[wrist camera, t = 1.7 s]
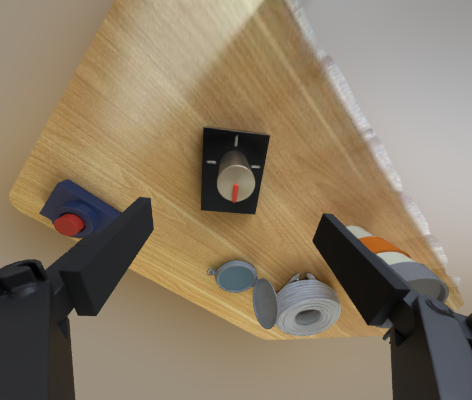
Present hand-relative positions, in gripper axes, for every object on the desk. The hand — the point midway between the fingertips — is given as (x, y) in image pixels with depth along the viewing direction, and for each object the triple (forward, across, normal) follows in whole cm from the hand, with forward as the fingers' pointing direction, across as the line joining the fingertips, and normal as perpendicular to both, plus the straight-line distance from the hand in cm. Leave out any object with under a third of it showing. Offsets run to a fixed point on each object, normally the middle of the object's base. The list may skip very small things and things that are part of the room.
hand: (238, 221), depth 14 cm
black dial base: (+19, 0, -2) cm, 19 cm away
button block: (+19, -27, -13) cm, 36 cm away
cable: (+20, +23, -36) cm, 47 cm away
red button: (+16, -27, -13) cm, 34 cm away
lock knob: (+16, 0, 0) cm, 16 cm away
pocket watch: (+20, +4, -28) cm, 34 cm away
